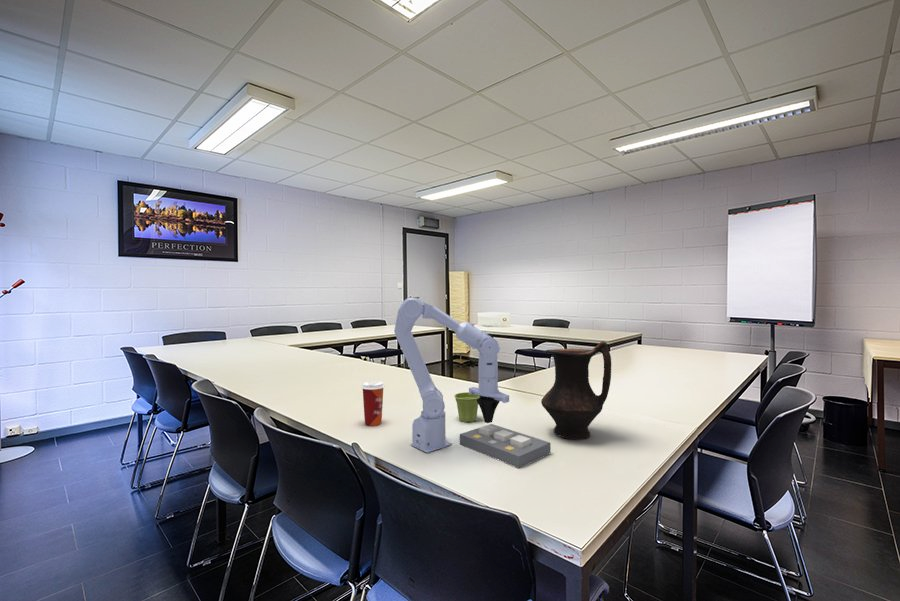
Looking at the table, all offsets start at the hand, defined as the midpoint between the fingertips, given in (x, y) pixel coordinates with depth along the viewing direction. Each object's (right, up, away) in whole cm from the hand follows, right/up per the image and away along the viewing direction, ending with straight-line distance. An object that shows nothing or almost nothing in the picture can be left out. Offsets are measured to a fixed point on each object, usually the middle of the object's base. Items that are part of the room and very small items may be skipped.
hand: (488, 422), depth 117 cm
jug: (+28, -6, +6) cm, 29 cm away
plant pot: (-5, -6, +22) cm, 24 cm away
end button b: (+8, -5, -9) cm, 13 cm away
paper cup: (-38, -6, +18) cm, 43 cm away
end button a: (0, -5, 0) cm, 5 cm away
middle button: (+4, -5, -4) cm, 8 cm away
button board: (+4, -6, -4) cm, 9 cm away
